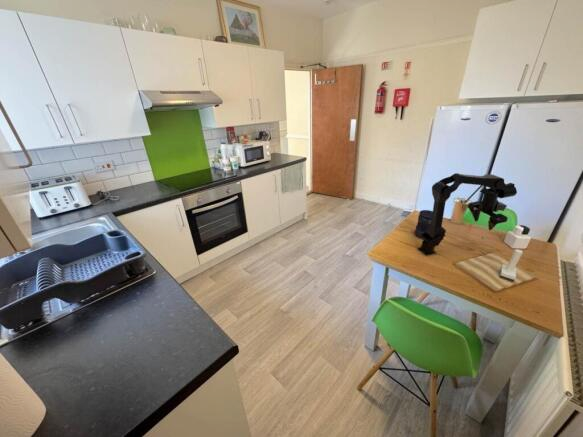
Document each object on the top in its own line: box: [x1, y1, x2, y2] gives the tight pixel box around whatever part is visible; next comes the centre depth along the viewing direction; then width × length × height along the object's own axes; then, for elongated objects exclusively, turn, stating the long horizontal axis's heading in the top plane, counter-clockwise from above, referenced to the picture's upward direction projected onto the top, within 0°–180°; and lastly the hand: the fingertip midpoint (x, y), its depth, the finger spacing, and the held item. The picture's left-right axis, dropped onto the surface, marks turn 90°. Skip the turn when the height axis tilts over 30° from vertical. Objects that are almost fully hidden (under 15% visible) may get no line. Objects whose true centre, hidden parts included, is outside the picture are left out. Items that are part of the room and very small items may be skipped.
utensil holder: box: [449, 185, 484, 224], centre depth 153 cm, size 11×11×30 cm
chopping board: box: [454, 252, 538, 293], centre depth 116 cm, size 26×20×1 cm
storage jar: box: [414, 209, 433, 240], centre depth 143 cm, size 10×10×18 cm
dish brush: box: [499, 248, 524, 282], centre depth 108 cm, size 8×5×14 cm, turn 139°
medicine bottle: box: [503, 224, 532, 250], centre depth 132 cm, size 7×7×12 cm
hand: (482, 225), depth 127 cm, fingers open, 9 cm apart
